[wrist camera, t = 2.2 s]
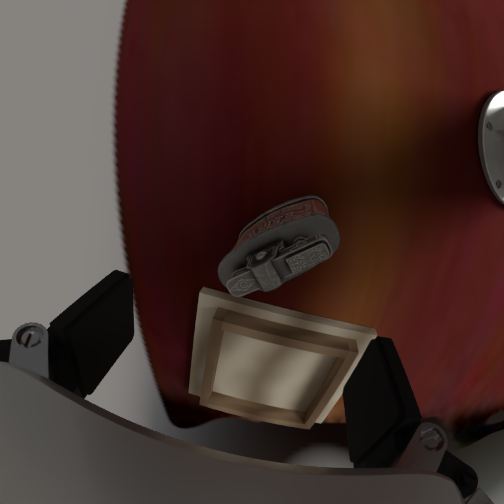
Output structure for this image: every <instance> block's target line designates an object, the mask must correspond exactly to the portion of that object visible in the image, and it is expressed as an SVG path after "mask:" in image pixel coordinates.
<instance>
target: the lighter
mask: <svg viewBox="0 0 504 504" xmlns="http://www.w3.org/2000/svg"><path fill="white" fill-rule="evenodd" d="M339 244H340V235H339V231H338V228H337V226H336V224H335V223H334V221H333V220H332V219H331V218H330V217H329V215H328V208H327V205H326V204H325V202H324V201H323V199H321V198H320V197H319V196H316V195H308V196H304V197H300V198H297V199H293V200H290V201H288V202H285V203H283V204H280V205H278V206H275V207H273V208H272V209H270V210H268V211H267V212H265V213H263V214H261V215H260V216H258V217H257V218H256V219H254V220H253V221H252V222H250V223H249V224H248V225H247V226H245V227H244V228H243V230H242V231H241V232H240V235H239V240H238V241H237V243H236V244H235V246H234V248H233V249H232V251H231V252H230V253H228V254H227V255H226V256H225V257H224V258H223V259H222V261H221V262H220V264H219V267H218V276H219V278H220V281H221V283H222V284H223V285H224V286H225V287H226V288H227V289H228V290H229V292H230V293H231V294H232V295H233V296H234V297H241V296H244V295H246V294H248V293H251V292H253V291H256V290H260V291H264V292H268V291H271V290H274V289H276V288H278V287H279V286H281V285H282V284H283V283H284V282H285V281H288V280H290V279H292V278H294V277H296V276H298V275H300V274H302V273H304V272H306V271H308V270H310V269H312V268H313V267H315V266H316V265H318V264H319V263H321V262H323V261H325V260H327V259H329V258H330V257H331V256H332V254H333V253H334V252H335V251H336V250H337V248H338V246H339Z"/></svg>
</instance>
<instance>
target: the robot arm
mask: <svg viewBox="0 0 504 504" xmlns="http://www.w3.org/2000/svg"><path fill="white" fill-rule="evenodd" d="M478 146H479V154H480V160H481V165H482V168H483V172H484V175H485V178H486V180H487V183H488V185H489V187H490V189H491V191H492V192H493V194H494V195H495V197H496V198H497V199H498V200H499V202H501V203H502V204H503V205H504V90H503V91H498V92H496V93H494V94H492V95H491V96H490V97H489V98H488V99H487V101H486V102H485V104H484V106H483V108H482V111H481V114H480V119H479V125H478ZM133 336H134V313H133V280H132V279H131V278H130V276H129V274H128V273H124V272H121V271H118V270H115V271H113V272H111V273H110V274H109V275H108V276H106V277H105V278H104V279H102V280H101V281H100V282H99V283H98V284H96V285H95V286H94V287H92V288H91V289H90V290H89V291H88V292H86V293H85V294H84V295H83V296H81V297H80V298H79V299H78V300H76V301H75V302H74V303H73V304H72V305H70V306H69V307H68V308H67V309H66V310H65V311H63V312H62V313H61V314H60V315H59V316H57V318H55V319H54V320H53V321H52V322H51V323H50V327H49V328H48V329H46V328H45V327H44V326H43V325H41V324H38V323H26V324H24V325H21V326H20V327H18V328H17V329H16V330H15V332H14V334H13V336H12V339H8V340H0V504H494V503H493V502H492V501H491V500H490V498H489V497H488V496H487V495H486V493H485V492H484V491H483V490H482V488H481V487H479V488H478V489H477V485H478V477H477V474H476V473H475V471H474V470H473V469H472V468H471V467H470V466H468V465H467V464H465V463H464V462H462V461H461V460H459V459H458V458H457V457H455V456H454V455H452V454H451V453H450V452H448V451H447V450H446V447H447V437H446V435H445V433H444V431H443V430H442V429H441V428H440V427H439V426H437V425H435V424H433V423H423V424H421V423H420V419H421V418H422V417H421V414H420V411H419V408H418V405H417V402H416V399H415V397H414V394H413V391H412V388H411V386H410V383H409V380H408V378H407V375H406V373H405V370H404V368H403V365H402V363H401V360H400V358H399V355H398V353H397V350H396V348H395V346H394V343H393V341H392V339H390V338H386V337H380V336H378V337H376V338H375V339H372V340H371V341H370V342H369V344H368V346H367V348H366V350H365V352H364V353H363V355H362V357H361V359H360V360H359V362H358V364H357V366H356V367H355V369H354V371H353V372H352V374H351V376H350V377H349V379H348V380H347V382H346V384H345V385H344V388H343V400H344V408H345V416H346V425H347V434H348V445H349V456H350V461H351V462H353V463H354V468H328V467H313V466H301V465H293V464H284V463H276V462H270V461H264V460H258V459H253V458H248V457H243V456H238V455H233V454H229V453H224V452H221V451H217V450H213V449H209V448H205V447H202V446H198V445H195V444H191V443H188V442H185V441H182V440H179V439H175V438H173V437H170V436H167V435H164V434H161V433H159V432H156V431H153V430H151V429H148V428H146V427H143V426H141V425H138V424H136V423H133V422H131V421H129V420H126V419H124V418H122V417H120V416H117V415H115V414H113V413H111V412H109V411H107V410H105V409H103V408H100V407H99V406H97V405H95V404H92V403H91V402H89V401H87V400H85V399H84V398H85V397H86V396H87V394H88V395H90V394H92V393H93V392H94V390H95V389H96V387H97V386H98V385H99V383H100V382H101V381H102V379H103V378H104V376H105V375H106V374H107V373H108V371H109V370H110V368H111V367H112V366H113V364H114V363H115V362H116V360H117V359H118V358H119V356H120V355H121V354H122V352H123V351H124V350H125V349H126V347H127V346H128V345H129V343H130V342H131V341H132V339H133Z"/></svg>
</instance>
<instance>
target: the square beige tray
mask: <svg viewBox="0 0 504 504" xmlns="http://www.w3.org/2000/svg"><path fill="white" fill-rule="evenodd" d="M376 337H377V333H376V330H375V328H370V327H365V326H360V325H355V324H351V323H346V322H341V321H337V320H332V319H328V318H324V317H319V316H315V315H310V314H306V313H302V312H298V311H294V310H290V309H285V308H281V307H277V306H273V305H269V304H266V303H262V302H258V301H254V300H250V299H246V298H243V297H234V296H233V295H231V294H228V293H224V292H221V291H217V290H213V289H210V288H206V287H203V288H202V290H201V291H200V293H199V300H198V308H197V317H196V325H195V334H194V343H193V352H192V362H191V372H190V383H189V393H191V394H194V395H197V396H200V405H203V406H206V407H209V408H213V409H216V410H220V411H223V412H227V413H231V414H234V415H238V416H242V417H247V418H251V419H255V420H260V421H264V422H269V423H275V424H280V425H285V426H291V427H297V428H304V429H310V428H311V426H312V425H313V424H314V423H315V422H316V423H322V422H323V420H324V419H325V417H326V416H327V415H328V413H329V412H330V411H331V409H332V408H333V406H334V405H335V403H336V402H337V401H338V399H339V398H340V396H341V395H342V393H343V388H344V385H345V384H346V382H347V380H348V379H349V377H350V376H351V374H352V372H353V371H354V369H355V367H356V366H357V364H358V362H359V360H360V359H361V357H362V355H363V353H364V352H365V350H366V348H367V346H368V344H369V342H370V341H371V340H372V339H375V338H376Z"/></svg>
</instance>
